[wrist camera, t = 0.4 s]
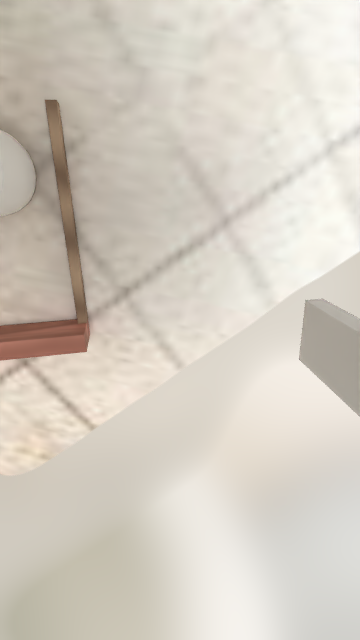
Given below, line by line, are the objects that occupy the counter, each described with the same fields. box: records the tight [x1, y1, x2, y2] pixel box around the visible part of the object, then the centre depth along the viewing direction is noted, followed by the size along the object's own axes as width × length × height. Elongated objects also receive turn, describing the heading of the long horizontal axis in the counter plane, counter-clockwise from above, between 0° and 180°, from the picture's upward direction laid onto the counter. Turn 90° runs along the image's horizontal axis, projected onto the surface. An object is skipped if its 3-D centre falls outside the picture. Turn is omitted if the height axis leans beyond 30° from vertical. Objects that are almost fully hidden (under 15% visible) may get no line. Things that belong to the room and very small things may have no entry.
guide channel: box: [0, 100, 90, 360], centre depth 33 cm, size 24×14×5 cm, turn 2°
